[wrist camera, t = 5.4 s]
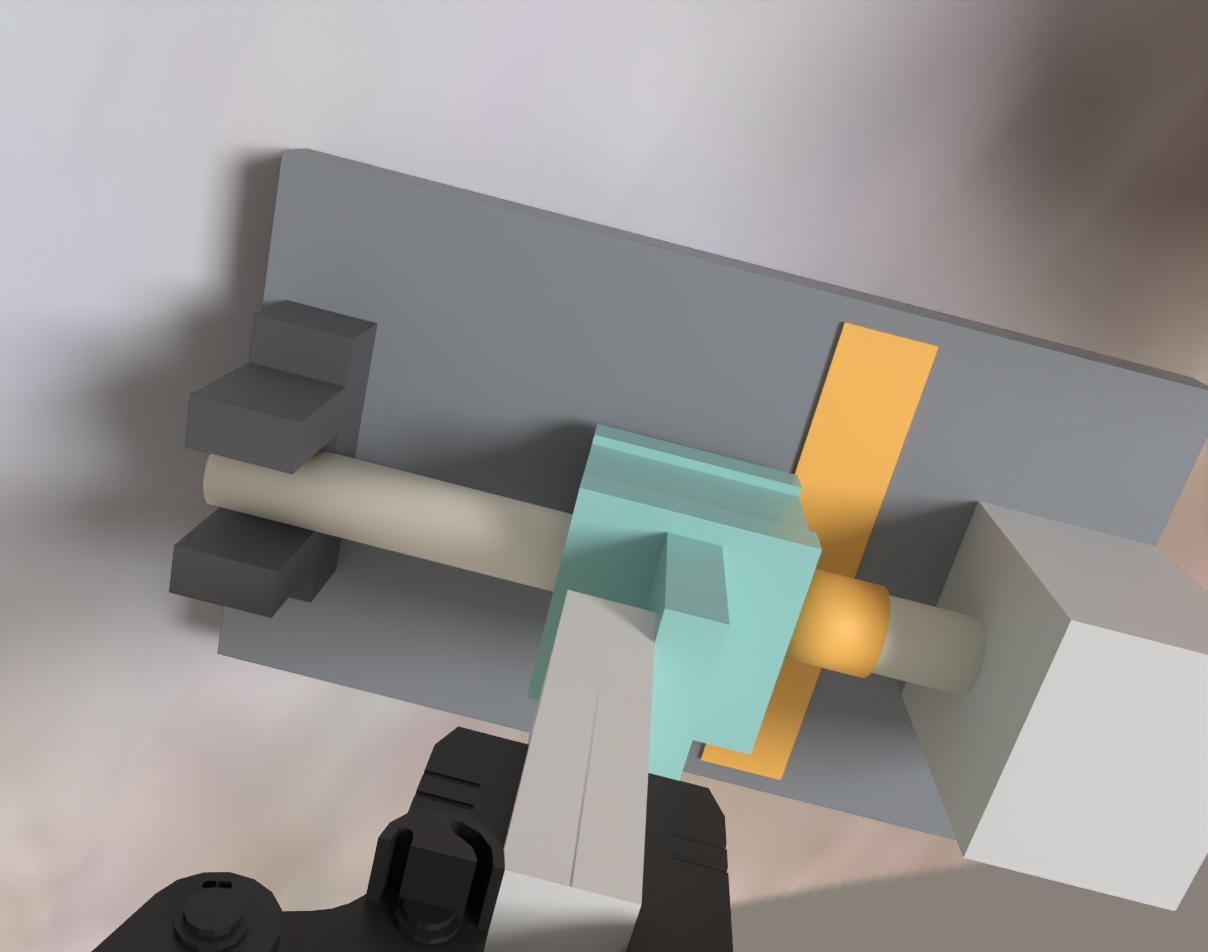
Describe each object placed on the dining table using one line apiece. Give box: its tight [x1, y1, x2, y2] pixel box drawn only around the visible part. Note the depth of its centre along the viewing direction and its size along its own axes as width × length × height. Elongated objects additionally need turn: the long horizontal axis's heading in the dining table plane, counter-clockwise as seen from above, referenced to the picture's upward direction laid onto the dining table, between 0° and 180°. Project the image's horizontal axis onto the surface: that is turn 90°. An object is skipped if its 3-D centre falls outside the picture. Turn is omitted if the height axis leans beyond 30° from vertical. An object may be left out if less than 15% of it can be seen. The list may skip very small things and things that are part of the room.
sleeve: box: [527, 424, 822, 781], centre depth 19 cm, size 4×4×7 cm
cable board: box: [169, 149, 1208, 911], centre depth 21 cm, size 12×20×7 cm, turn 76°
